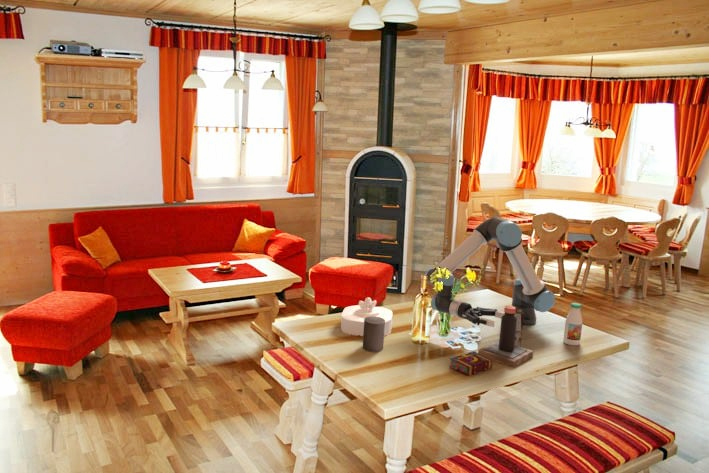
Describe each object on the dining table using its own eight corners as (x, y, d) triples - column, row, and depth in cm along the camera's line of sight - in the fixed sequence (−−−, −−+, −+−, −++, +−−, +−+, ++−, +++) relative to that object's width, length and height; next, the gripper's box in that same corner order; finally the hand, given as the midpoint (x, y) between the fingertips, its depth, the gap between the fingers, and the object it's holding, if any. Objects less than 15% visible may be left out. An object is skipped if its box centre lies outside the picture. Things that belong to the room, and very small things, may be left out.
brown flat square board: (497, 345, 296) (498, 339, 295) (532, 356, 284) (533, 350, 284) (477, 355, 283) (478, 348, 282) (513, 367, 271) (514, 360, 271)
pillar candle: (359, 349, 284) (361, 318, 281) (366, 342, 293) (368, 312, 290) (379, 353, 281) (381, 322, 277) (386, 346, 290) (388, 315, 286)
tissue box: (345, 317, 327) (346, 288, 324) (393, 321, 324) (394, 292, 321) (338, 334, 303) (339, 302, 299) (389, 338, 300) (391, 306, 296)
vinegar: (513, 352, 279) (518, 310, 275) (498, 350, 281) (502, 308, 277) (513, 347, 286) (518, 306, 282) (498, 345, 287) (502, 304, 283)
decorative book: (492, 369, 269) (493, 358, 268) (465, 377, 259) (466, 366, 258) (472, 360, 278) (473, 350, 277) (446, 368, 268) (447, 357, 267)
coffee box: (520, 346, 296) (524, 314, 293) (507, 344, 298) (510, 312, 294) (519, 339, 305) (523, 308, 302) (506, 338, 306) (509, 306, 303)
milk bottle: (560, 342, 303) (565, 303, 299) (567, 338, 309) (571, 300, 305) (575, 347, 298) (580, 307, 294) (582, 343, 304) (587, 304, 300)
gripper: (473, 311, 306) (513, 322, 293) (446, 322, 288) (486, 335, 274) (475, 296, 305) (514, 307, 291) (447, 307, 286) (488, 319, 273)
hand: (501, 320), depth 283 cm, fingers open, 13 cm apart
